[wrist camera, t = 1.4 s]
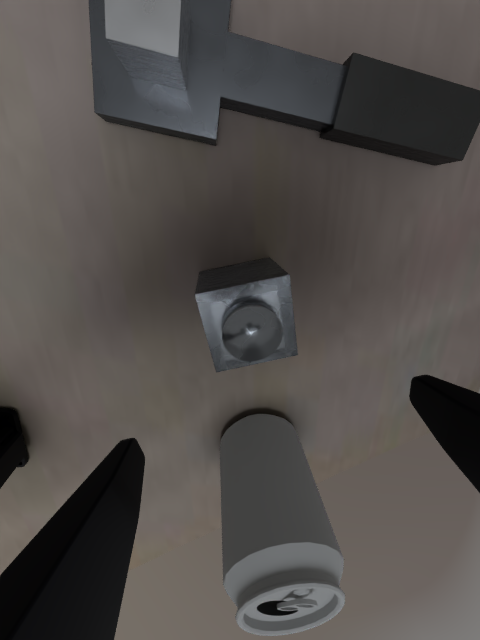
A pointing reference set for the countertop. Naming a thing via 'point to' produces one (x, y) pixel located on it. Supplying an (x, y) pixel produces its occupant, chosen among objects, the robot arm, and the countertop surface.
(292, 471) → the can
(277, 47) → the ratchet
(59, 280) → the countertop surface
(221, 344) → the dark grey block
